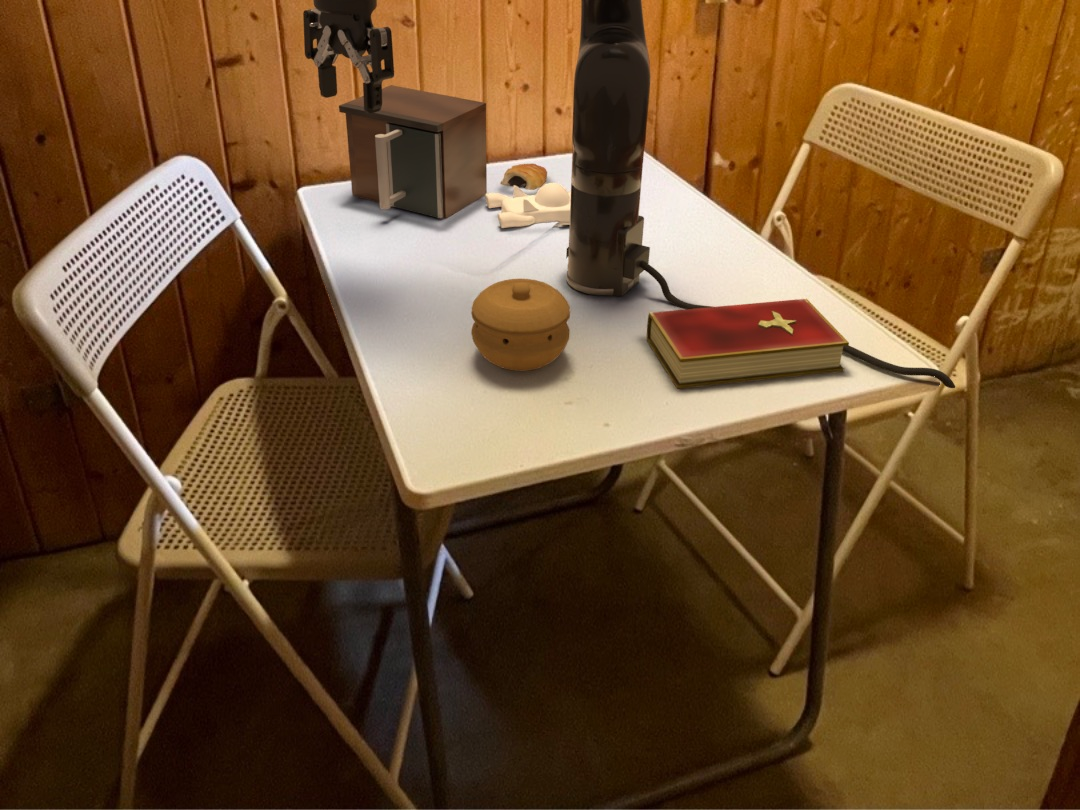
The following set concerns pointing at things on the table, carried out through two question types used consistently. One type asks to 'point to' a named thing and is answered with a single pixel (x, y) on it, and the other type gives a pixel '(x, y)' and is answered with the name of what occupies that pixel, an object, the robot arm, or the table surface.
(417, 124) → the cupboard
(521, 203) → the plane toy
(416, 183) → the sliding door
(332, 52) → the robot arm
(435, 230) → the table surface
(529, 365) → the pot
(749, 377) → the hardcover book
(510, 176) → the pastry
